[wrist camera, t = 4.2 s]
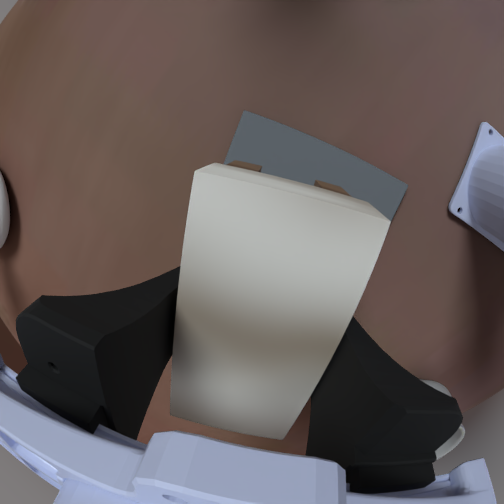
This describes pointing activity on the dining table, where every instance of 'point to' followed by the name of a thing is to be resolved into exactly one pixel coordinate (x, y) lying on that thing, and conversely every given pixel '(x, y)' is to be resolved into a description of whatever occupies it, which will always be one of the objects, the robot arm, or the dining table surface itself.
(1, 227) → the flower in vase
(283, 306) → the cream block with tabs
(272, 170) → the mat
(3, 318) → the dining table surface
